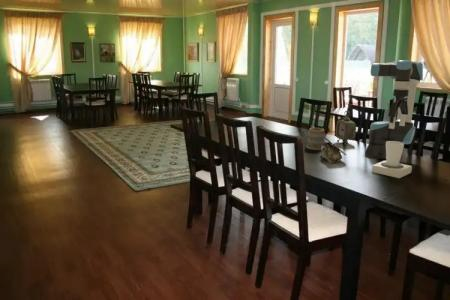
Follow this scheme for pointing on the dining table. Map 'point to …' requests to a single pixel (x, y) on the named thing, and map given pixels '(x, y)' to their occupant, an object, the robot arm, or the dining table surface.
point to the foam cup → (393, 152)
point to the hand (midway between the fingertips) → (396, 127)
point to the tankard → (315, 138)
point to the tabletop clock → (345, 129)
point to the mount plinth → (391, 169)
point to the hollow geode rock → (331, 152)
